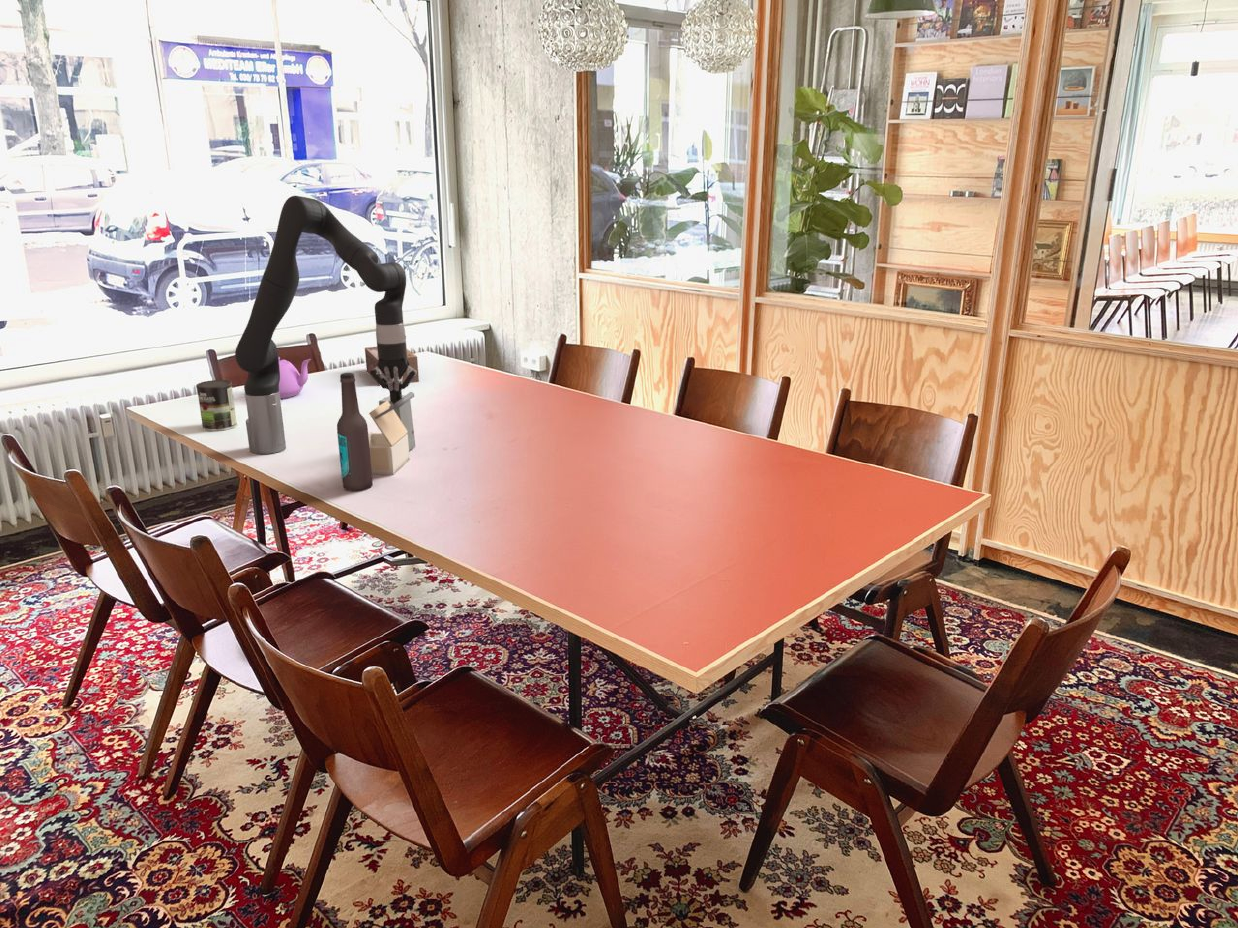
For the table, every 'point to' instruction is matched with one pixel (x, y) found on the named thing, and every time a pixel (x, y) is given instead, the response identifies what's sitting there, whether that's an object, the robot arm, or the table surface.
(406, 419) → the skincare box
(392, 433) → the flap
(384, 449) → the carton
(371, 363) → the tissue box cover
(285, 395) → the teapot
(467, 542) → the table surface
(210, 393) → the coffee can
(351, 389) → the beer bottle
